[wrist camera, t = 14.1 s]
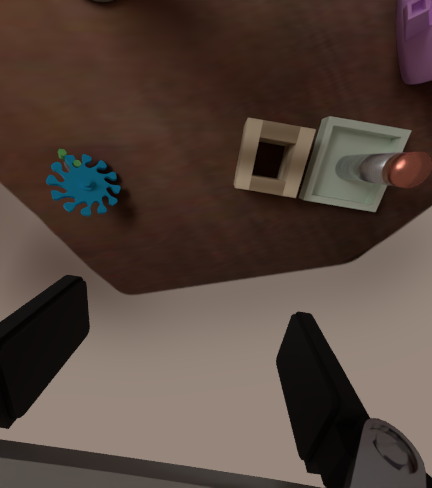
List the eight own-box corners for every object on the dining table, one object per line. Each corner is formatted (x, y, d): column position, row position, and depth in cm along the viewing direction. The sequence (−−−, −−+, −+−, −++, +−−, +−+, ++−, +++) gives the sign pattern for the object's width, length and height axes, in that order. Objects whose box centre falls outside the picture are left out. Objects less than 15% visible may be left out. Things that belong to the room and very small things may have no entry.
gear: (132, 200, 37) (71, 225, 32) (126, 209, 42) (71, 232, 36) (96, 139, 35) (24, 154, 30) (94, 156, 40) (32, 172, 35)
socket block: (244, 124, 33) (248, 117, 28) (300, 134, 34) (315, 129, 28) (233, 183, 37) (235, 187, 31) (285, 192, 37) (295, 198, 31)
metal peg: (339, 153, 34) (404, 148, 22) (362, 156, 34) (438, 154, 22) (331, 176, 35) (388, 185, 23) (353, 180, 35) (421, 190, 23)
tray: (322, 119, 33) (329, 116, 30) (398, 132, 33) (411, 130, 31) (298, 197, 37) (303, 200, 35) (366, 208, 37) (375, 212, 35)
